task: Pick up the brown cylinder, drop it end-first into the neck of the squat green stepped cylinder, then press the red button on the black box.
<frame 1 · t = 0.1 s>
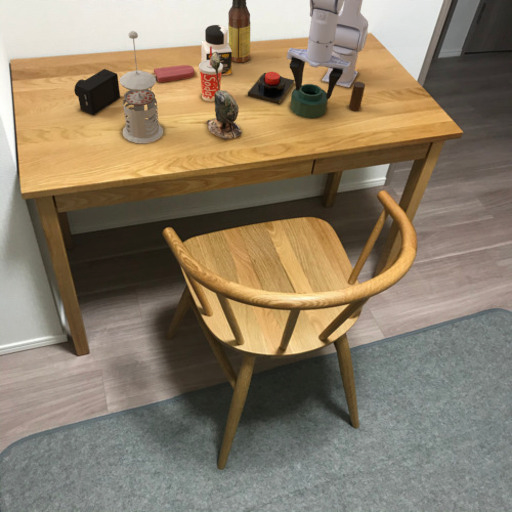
hand: (313, 92, 135), 10 cm above the table, tool pointing down, fingers open, 7 cm apart
medicine bottle: (216, 70, 160), on the table
green stepped cylinder: (308, 108, 149), on the table
brown cylinder: (354, 108, 150), on the table
sauce bottle: (238, 59, 165), on the table
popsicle: (167, 77, 156), on the table
digital camera: (99, 103, 145), on the table
french press: (144, 130, 138), on the table
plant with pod: (224, 133, 139), on the table
beverage cup: (210, 97, 150), on the table
button: (272, 78, 152), point 4 cm above the table, slide at 0.1 cm
button box: (271, 90, 154), on the table
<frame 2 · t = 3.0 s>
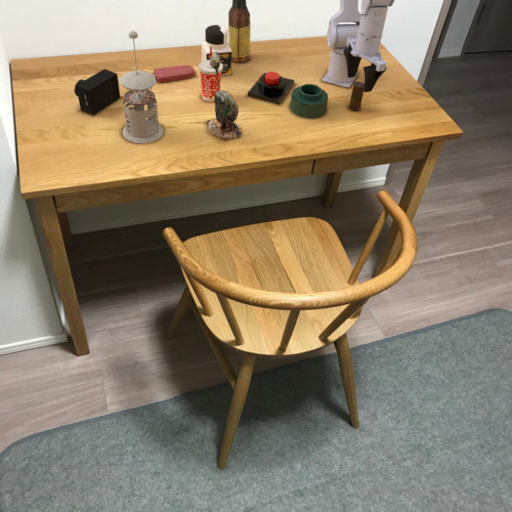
hand: (359, 83, 145), 7 cm above the table, tool pointing down, fingers open, 7 cm apart
nothing on the table moved.
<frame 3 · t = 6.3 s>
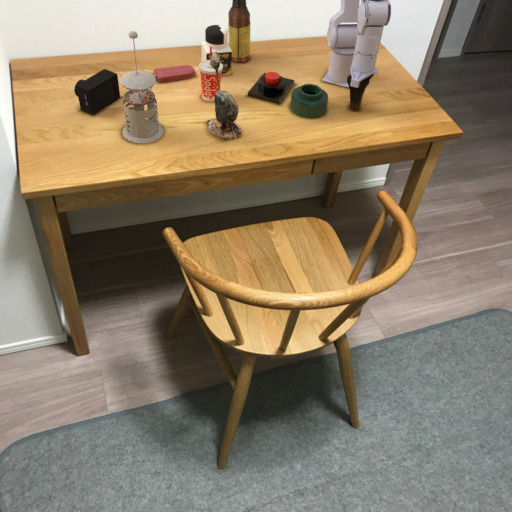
hand: (356, 99, 148), 3 cm above the table, tool pointing down, fingers closed on brown cylinder, 3 cm apart
brown cylinder: (354, 108, 150), on the table, touching gripper
everything else where it was.
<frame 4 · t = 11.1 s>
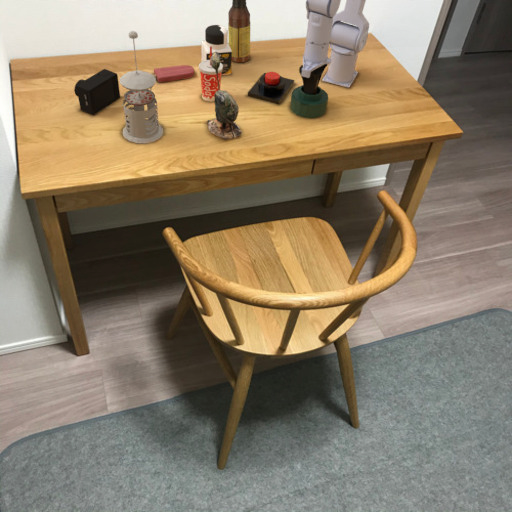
hand: (310, 90, 145), 5 cm above the table, tool pointing down, fingers closed on brown cylinder, 3 cm apart
brown cylinder: (309, 99, 147), point 3 cm above the table, touching gripper
everything else where it was.
when the fingers open (7 cm above the table, at t = 15.3 s): brown cylinder drops 4 cm, resting on green stepped cylinder.
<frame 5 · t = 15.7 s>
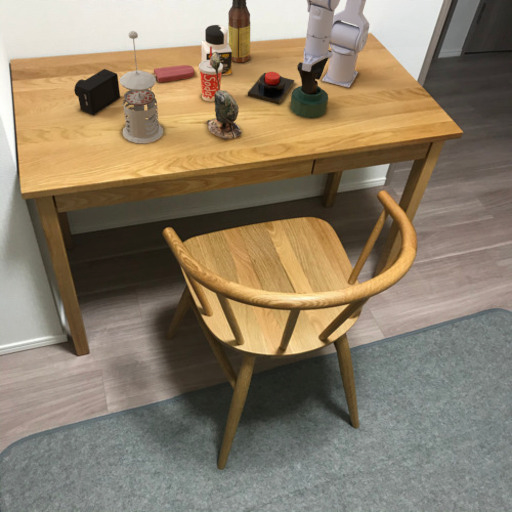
hand: (311, 84, 144), 7 cm above the table, tool pointing down, fingers open, 7 cm apart
brown cylinder: (308, 106, 148), point 1 cm above the table, touching green stepped cylinder
everything else where it was.
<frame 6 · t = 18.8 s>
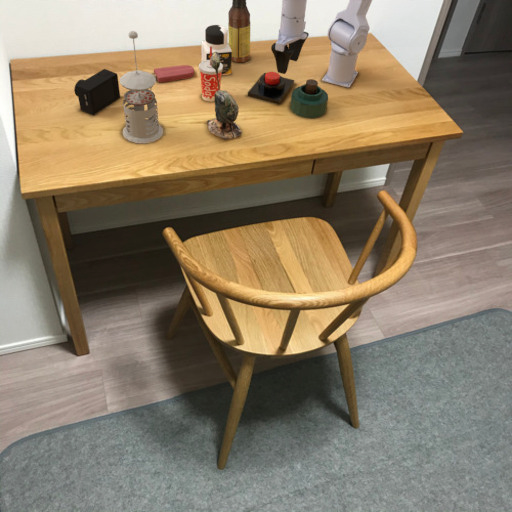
hand: (287, 66, 146), 9 cm above the table, tool pointing down, fingers open, 7 cm apart
nothing on the table moved.
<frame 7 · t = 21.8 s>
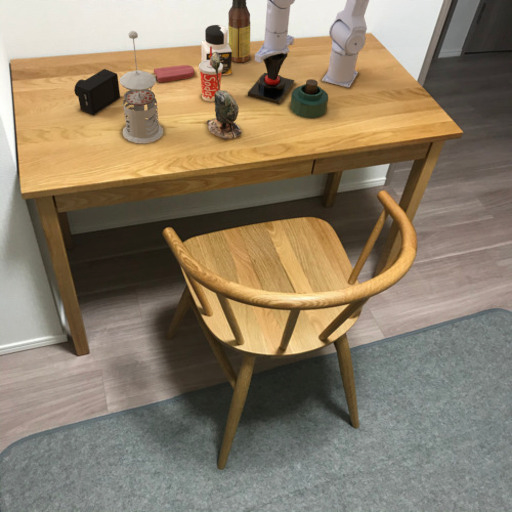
hand: (272, 78, 151), 4 cm above the table, tool pointing down, fingers closed, pressing on button
button: (272, 80, 152), point 3 cm above the table, slide at -0.6 cm, touching gripper
everything else where it was.
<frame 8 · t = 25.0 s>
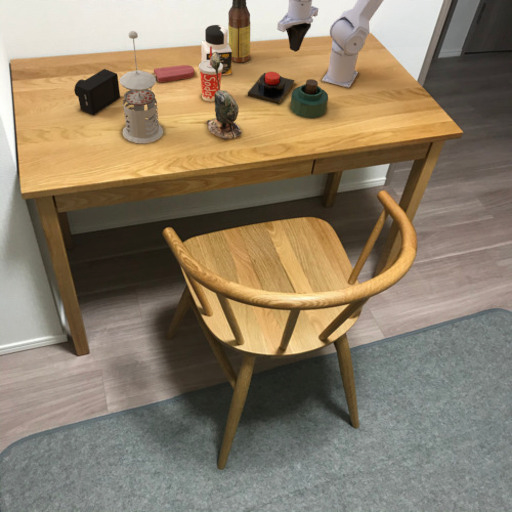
hand: (294, 49, 149), 10 cm above the table, tool pointing down, fingers closed
button: (272, 78, 152), point 4 cm above the table, slide at 0.1 cm
everything else where it was.
at the end: brown cylinder 0.1 cm off-centre in the green stepped cylinder, point 0.6 cm above the green stepped cylinder's base; button pushed in 1.0 cm at the most during the clip, back to where it started at the end; button slide at 0.1 cm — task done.
